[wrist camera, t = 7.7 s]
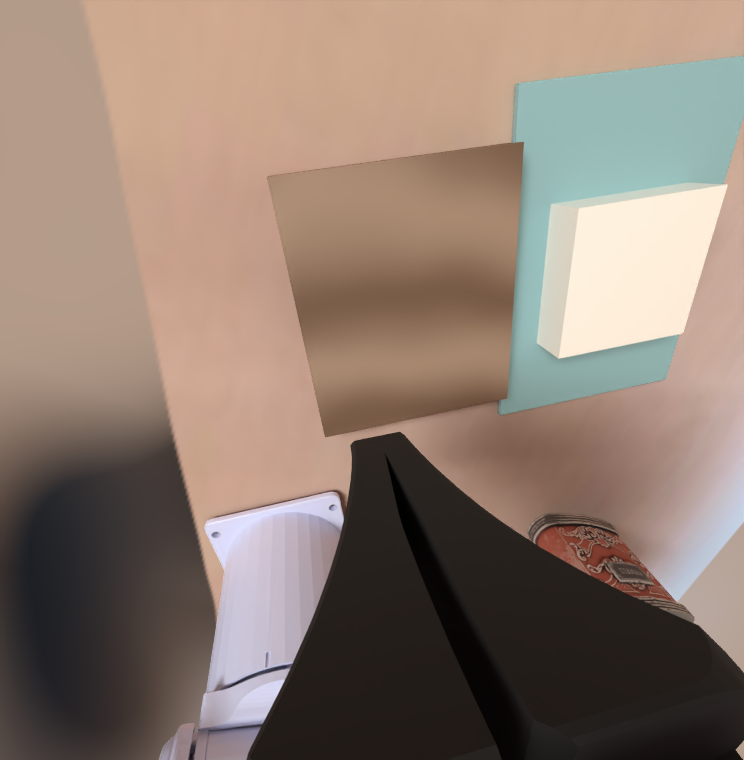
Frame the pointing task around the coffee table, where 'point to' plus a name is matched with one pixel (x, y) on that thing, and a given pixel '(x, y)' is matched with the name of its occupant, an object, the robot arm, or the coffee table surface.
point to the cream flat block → (624, 266)
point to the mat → (606, 177)
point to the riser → (404, 281)
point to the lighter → (601, 557)
